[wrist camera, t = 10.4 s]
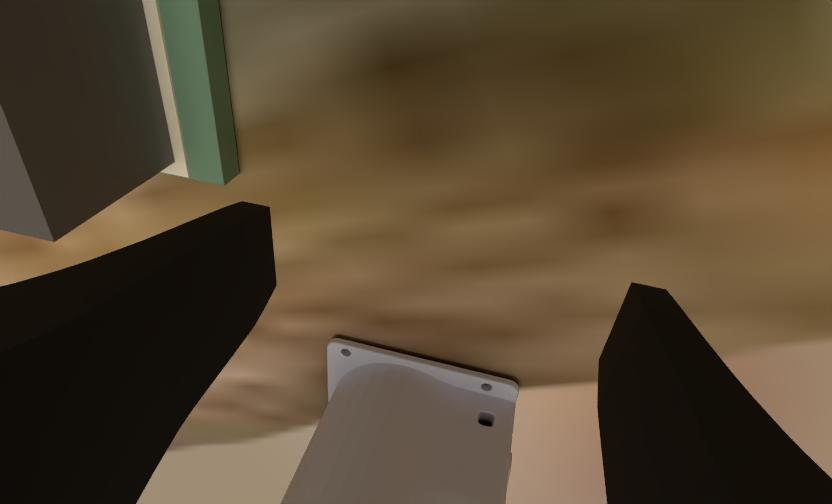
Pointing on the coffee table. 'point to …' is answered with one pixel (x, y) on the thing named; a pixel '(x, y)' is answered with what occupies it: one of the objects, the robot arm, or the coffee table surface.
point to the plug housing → (75, 111)
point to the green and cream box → (194, 88)
